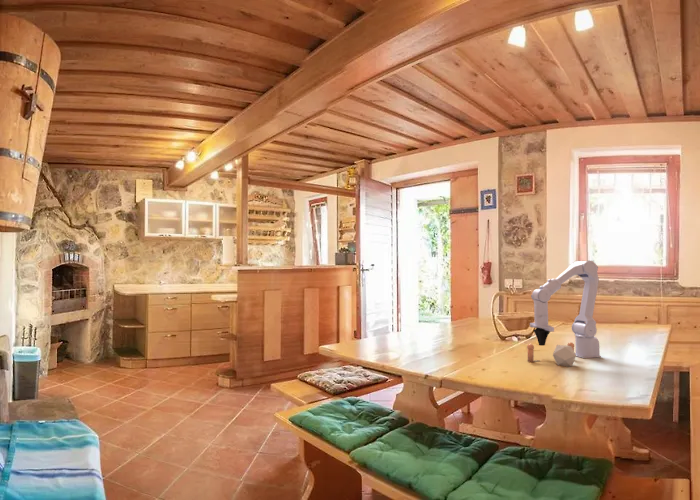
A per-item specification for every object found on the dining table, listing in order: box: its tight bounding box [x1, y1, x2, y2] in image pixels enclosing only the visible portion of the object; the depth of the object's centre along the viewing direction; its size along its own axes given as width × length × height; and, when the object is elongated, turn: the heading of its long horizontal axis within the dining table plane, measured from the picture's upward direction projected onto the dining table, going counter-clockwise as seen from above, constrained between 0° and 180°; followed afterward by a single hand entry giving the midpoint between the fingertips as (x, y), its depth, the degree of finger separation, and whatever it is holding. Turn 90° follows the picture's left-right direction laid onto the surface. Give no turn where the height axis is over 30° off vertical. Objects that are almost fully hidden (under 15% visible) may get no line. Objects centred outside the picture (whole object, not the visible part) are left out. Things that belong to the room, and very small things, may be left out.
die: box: [552, 344, 577, 367], centre depth 178 cm, size 8×9×10 cm
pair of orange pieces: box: [526, 342, 575, 363], centre depth 187 cm, size 23×3×8 cm, turn 101°
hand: (541, 345), depth 193 cm, fingers closed
